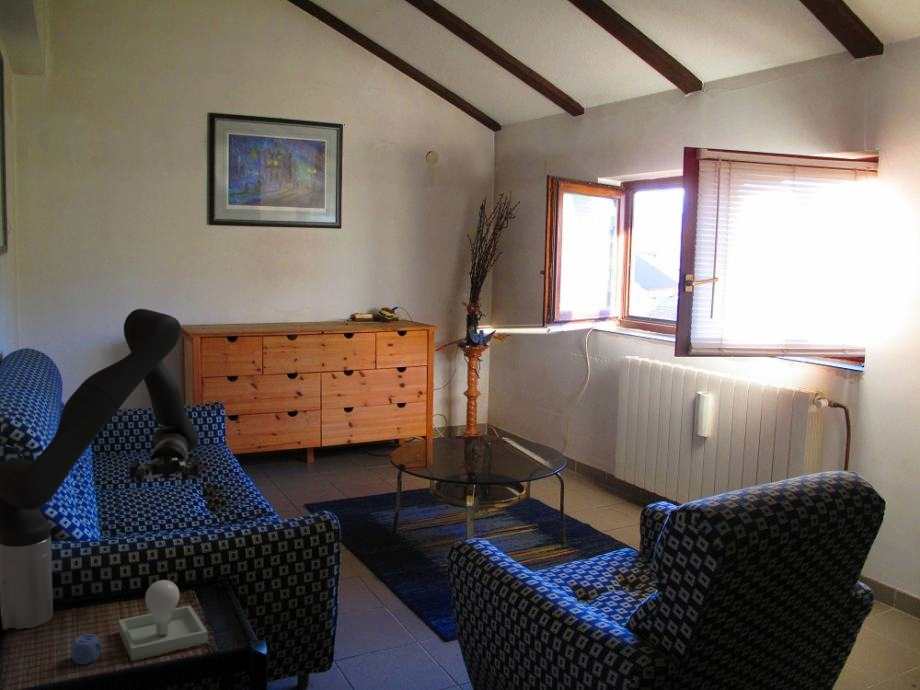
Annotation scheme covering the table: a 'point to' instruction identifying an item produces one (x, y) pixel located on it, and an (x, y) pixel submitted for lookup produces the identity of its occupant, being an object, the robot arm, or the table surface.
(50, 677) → the table surface
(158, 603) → the lightbulb
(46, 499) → the robot arm
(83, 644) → the decorative dice
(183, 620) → the parts tray
